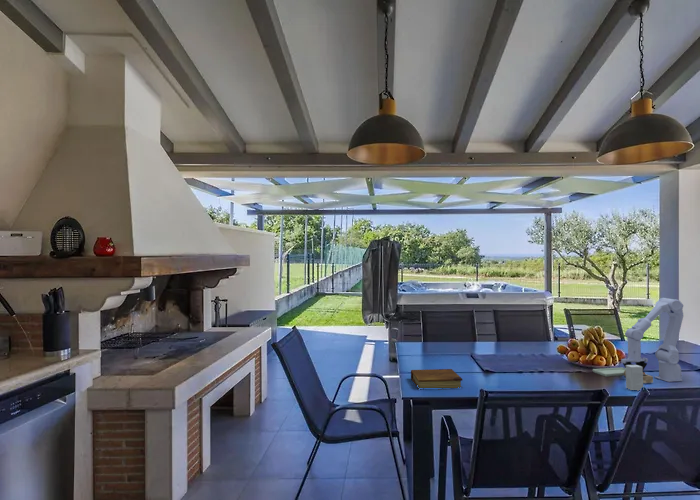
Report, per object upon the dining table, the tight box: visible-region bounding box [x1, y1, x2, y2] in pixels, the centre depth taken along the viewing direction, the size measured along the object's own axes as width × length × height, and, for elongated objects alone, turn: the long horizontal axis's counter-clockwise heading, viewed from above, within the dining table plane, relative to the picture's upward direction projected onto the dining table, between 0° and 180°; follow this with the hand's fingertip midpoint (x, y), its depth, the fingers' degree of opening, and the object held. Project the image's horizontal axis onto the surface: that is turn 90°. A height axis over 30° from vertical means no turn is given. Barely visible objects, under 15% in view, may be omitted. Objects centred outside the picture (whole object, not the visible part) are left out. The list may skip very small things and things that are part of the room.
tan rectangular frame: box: [624, 371, 654, 384], centre depth 215 cm, size 14×5×3 cm, turn 10°
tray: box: [592, 367, 626, 378], centre depth 228 cm, size 20×10×2 cm, turn 98°
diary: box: [410, 368, 463, 388], centre depth 213 cm, size 23×19×6 cm
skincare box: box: [625, 364, 644, 392], centre depth 200 cm, size 6×4×12 cm
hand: (634, 375), depth 216 cm, fingers closed on tan rectangular frame, 5 cm apart
